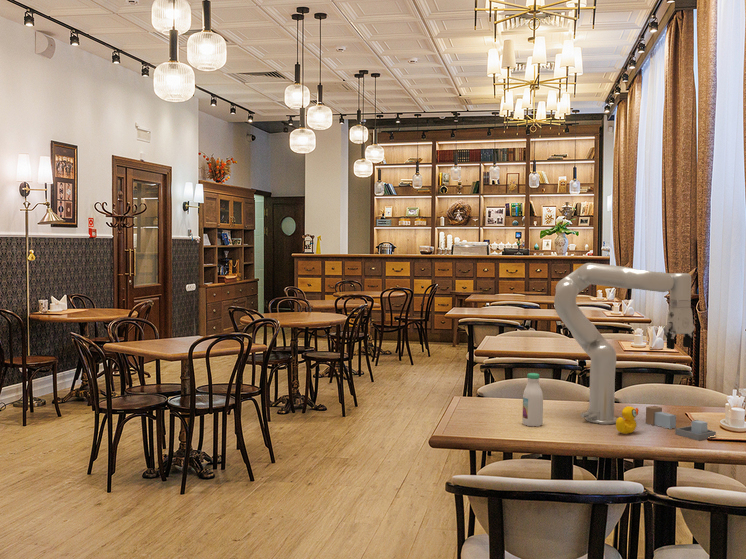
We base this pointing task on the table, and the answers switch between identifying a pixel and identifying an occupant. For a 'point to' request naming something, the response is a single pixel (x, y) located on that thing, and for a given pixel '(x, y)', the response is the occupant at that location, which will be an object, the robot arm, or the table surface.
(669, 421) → the grey and brown blocks
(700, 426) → the stub
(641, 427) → the table surface
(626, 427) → the duckling
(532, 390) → the milk bottle
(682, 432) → the dish
